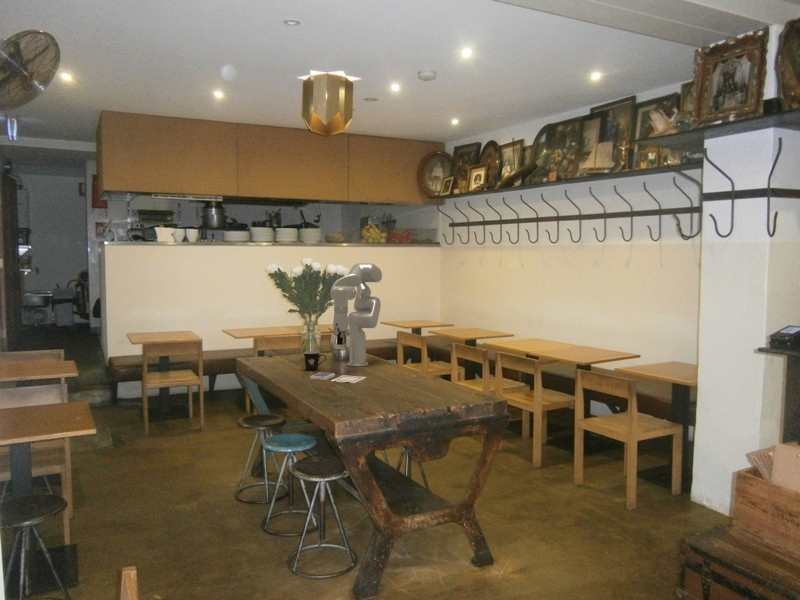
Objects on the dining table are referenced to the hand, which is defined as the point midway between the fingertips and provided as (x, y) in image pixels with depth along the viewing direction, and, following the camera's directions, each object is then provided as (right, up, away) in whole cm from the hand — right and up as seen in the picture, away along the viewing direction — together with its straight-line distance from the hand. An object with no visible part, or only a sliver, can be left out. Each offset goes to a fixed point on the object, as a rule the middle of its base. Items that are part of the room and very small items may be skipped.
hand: (341, 343), depth 339 cm
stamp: (0, -3, 0) cm, 3 cm away
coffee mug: (-17, -16, +11) cm, 26 cm away
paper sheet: (+5, -18, -13) cm, 23 cm away
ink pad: (-9, -18, -9) cm, 22 cm away
